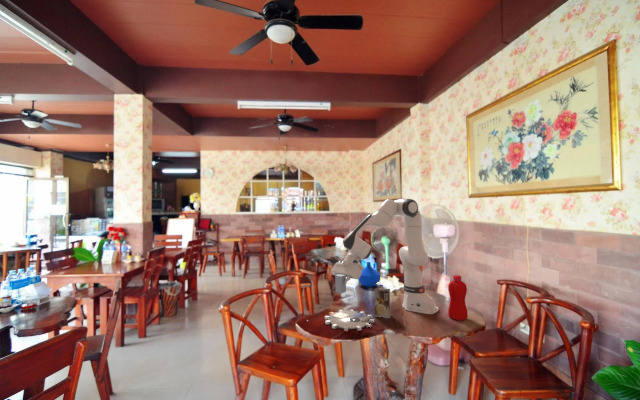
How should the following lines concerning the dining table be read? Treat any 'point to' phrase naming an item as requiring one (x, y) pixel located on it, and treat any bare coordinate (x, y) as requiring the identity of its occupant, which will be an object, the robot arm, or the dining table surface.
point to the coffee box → (382, 302)
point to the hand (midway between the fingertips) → (340, 282)
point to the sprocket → (349, 320)
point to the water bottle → (457, 299)
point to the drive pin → (340, 283)
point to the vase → (369, 276)
